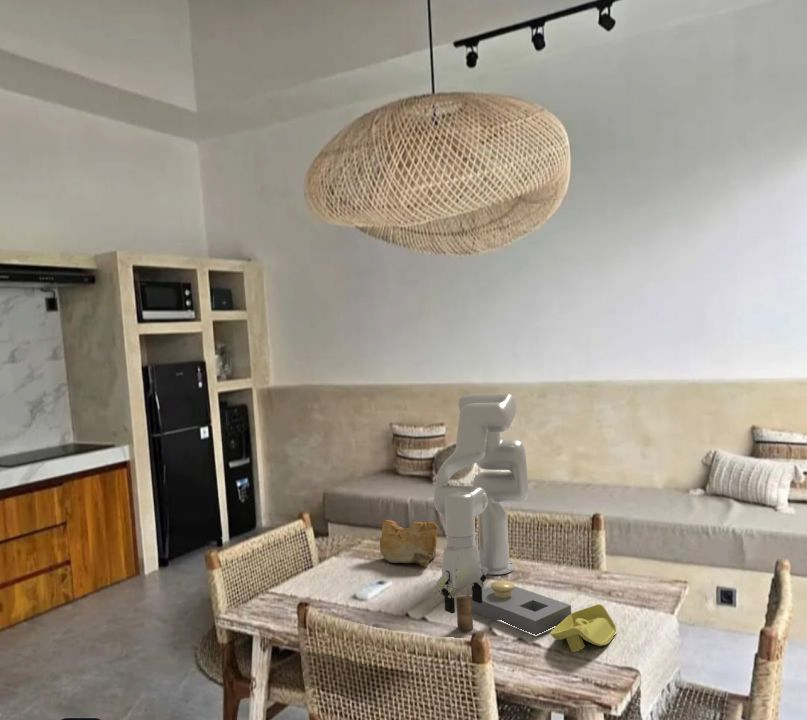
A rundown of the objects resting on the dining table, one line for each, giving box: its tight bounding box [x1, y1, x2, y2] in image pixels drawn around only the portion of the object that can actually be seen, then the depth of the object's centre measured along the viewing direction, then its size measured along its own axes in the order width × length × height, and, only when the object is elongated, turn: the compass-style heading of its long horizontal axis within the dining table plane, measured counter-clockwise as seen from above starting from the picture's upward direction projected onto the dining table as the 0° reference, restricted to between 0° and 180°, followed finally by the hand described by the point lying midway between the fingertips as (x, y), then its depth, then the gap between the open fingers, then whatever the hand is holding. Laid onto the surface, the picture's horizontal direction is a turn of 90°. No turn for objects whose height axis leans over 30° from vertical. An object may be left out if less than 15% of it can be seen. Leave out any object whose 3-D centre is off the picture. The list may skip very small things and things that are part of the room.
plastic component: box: [549, 603, 617, 653], centre depth 162 cm, size 20×7×10 cm
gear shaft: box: [455, 594, 474, 633], centre depth 173 cm, size 4×4×8 cm
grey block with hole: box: [467, 580, 572, 635], centre depth 180 cm, size 24×14×7 cm, turn 38°
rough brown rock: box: [379, 519, 439, 568], centre depth 229 cm, size 23×17×15 cm
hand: (463, 606), depth 173 cm, fingers open, 9 cm apart
